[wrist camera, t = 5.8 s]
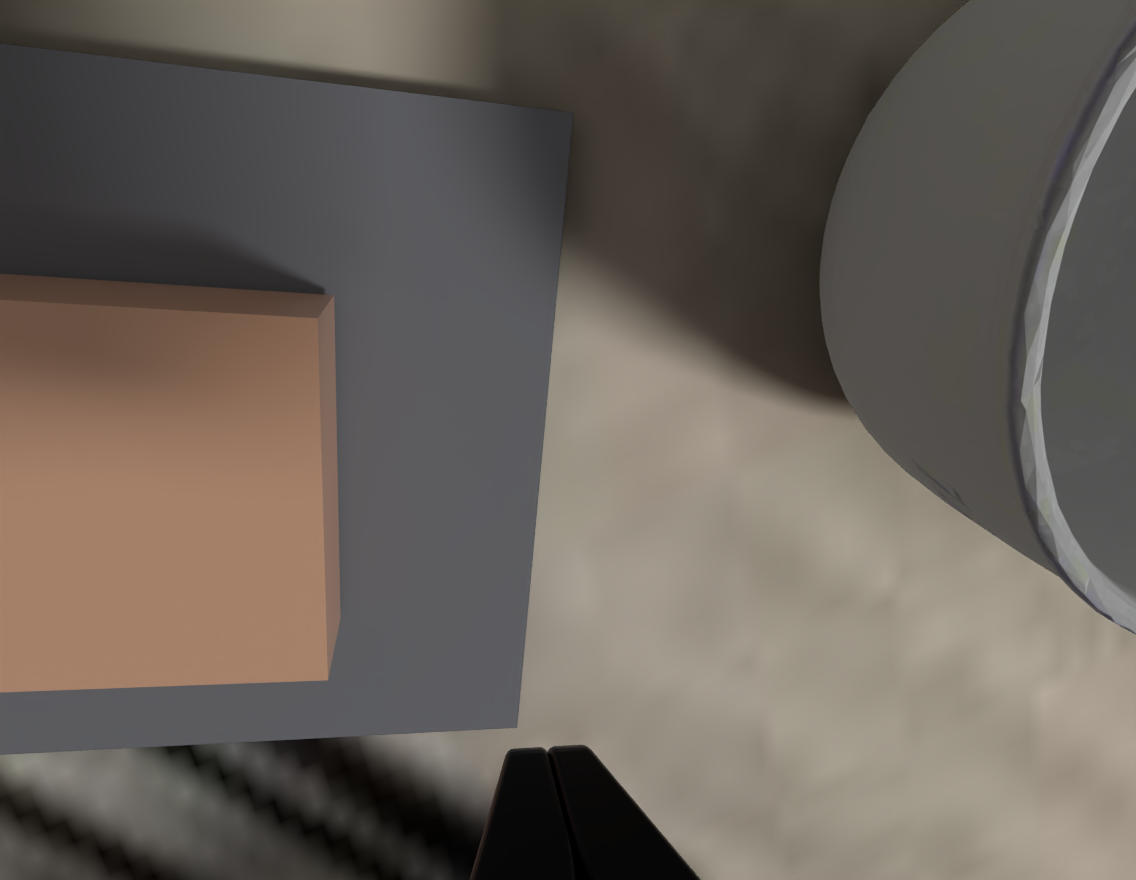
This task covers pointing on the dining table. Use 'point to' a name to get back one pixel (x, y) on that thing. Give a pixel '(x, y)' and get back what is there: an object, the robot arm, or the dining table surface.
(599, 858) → the robot arm
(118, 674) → the tile
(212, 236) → the mat
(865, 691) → the dining table surface
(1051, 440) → the teacup
